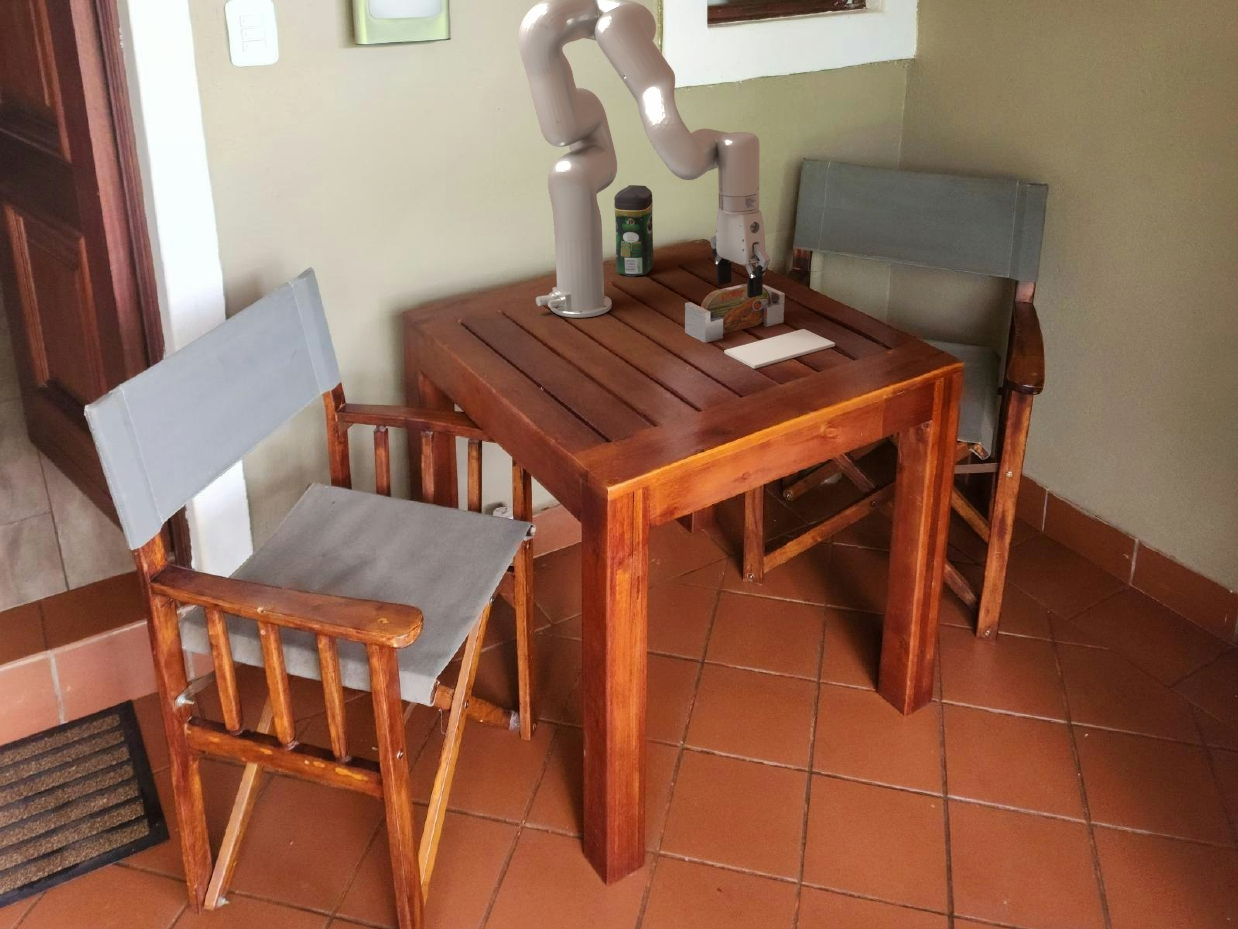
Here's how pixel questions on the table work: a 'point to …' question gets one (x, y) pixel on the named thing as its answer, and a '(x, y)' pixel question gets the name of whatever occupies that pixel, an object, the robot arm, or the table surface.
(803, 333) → the mat
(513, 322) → the table surface
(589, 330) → the table surface
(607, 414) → the table surface
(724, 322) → the tin
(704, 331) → the end brackets
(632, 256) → the coffee jar
